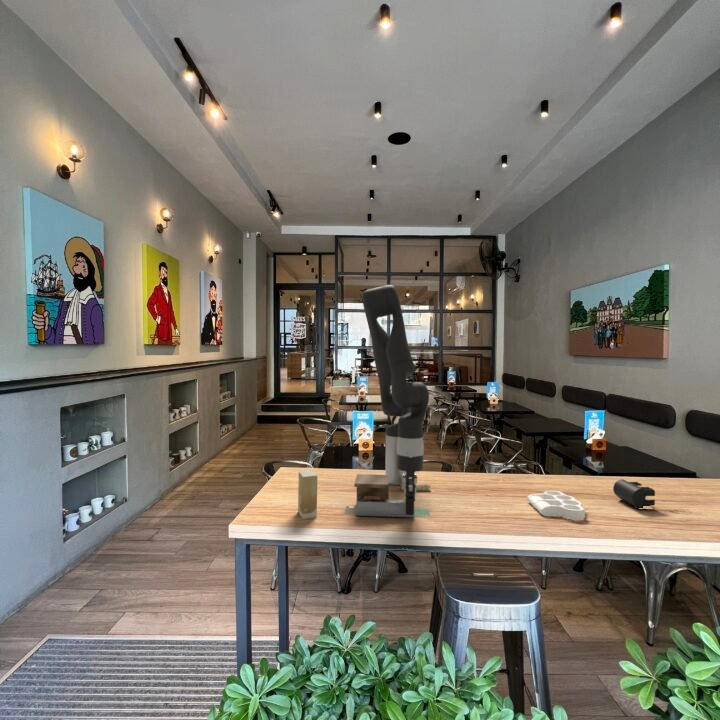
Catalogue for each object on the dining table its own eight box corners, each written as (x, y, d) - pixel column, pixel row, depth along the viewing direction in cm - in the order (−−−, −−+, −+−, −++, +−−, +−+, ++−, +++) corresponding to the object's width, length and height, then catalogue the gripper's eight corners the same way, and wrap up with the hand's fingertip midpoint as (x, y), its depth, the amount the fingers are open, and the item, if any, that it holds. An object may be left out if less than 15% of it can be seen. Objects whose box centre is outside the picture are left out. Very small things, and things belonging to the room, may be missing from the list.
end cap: (612, 499, 140) (612, 479, 140) (634, 499, 140) (634, 479, 140) (632, 510, 130) (632, 488, 130) (655, 510, 130) (656, 488, 130)
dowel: (400, 491, 148) (400, 489, 146) (400, 484, 150) (400, 482, 147) (429, 492, 148) (430, 490, 145) (429, 485, 149) (430, 483, 147)
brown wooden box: (354, 514, 125) (354, 483, 125) (356, 502, 135) (357, 474, 135) (388, 515, 124) (388, 484, 124) (388, 503, 134) (389, 475, 134)
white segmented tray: (523, 500, 139) (568, 500, 139) (545, 521, 121) (597, 522, 121) (523, 489, 139) (568, 490, 139) (545, 510, 121) (598, 510, 121)
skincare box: (297, 511, 126) (297, 470, 126) (311, 510, 128) (312, 469, 128) (302, 519, 120) (302, 476, 120) (317, 517, 122) (317, 475, 122)
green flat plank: (344, 513, 125) (344, 513, 125) (346, 506, 131) (346, 506, 131) (430, 516, 123) (430, 516, 123) (428, 509, 129) (428, 509, 129)
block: (362, 513, 125) (362, 501, 125) (363, 507, 130) (364, 495, 130) (379, 513, 125) (379, 502, 125) (380, 507, 130) (380, 496, 130)
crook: (356, 515, 122) (356, 501, 122) (358, 506, 130) (358, 493, 130) (414, 517, 121) (414, 503, 121) (413, 507, 128) (413, 494, 128)
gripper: (396, 446, 129) (396, 503, 130) (397, 457, 115) (396, 521, 116) (421, 447, 129) (421, 504, 129) (425, 458, 115) (424, 522, 115)
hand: (409, 512), depth 122 cm, fingers closed on crook, 2 cm apart
